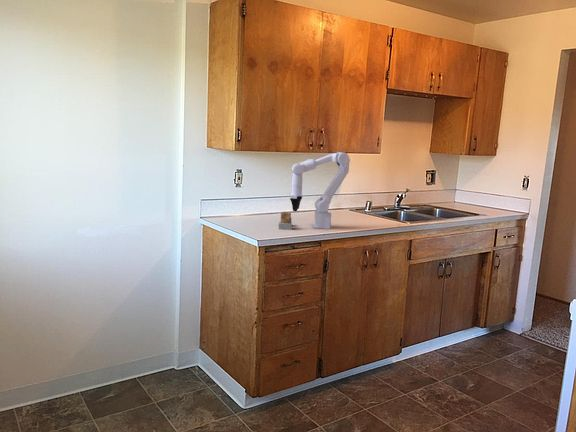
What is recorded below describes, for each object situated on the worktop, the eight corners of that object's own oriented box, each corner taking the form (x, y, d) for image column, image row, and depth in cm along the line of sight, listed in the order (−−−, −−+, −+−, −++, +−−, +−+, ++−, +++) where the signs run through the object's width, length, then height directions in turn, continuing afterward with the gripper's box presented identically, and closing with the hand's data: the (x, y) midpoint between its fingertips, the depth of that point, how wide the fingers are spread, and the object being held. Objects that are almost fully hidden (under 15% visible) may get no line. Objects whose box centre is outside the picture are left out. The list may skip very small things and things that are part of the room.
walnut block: (290, 222, 270) (290, 212, 269) (288, 223, 265) (289, 213, 264) (282, 221, 271) (282, 211, 270) (280, 222, 266) (281, 212, 265)
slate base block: (291, 227, 272) (291, 221, 271) (291, 230, 265) (291, 223, 264) (278, 227, 272) (279, 221, 271) (278, 229, 265) (278, 223, 265)
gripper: (291, 184, 278) (290, 207, 280) (288, 186, 264) (286, 211, 266) (303, 184, 277) (302, 208, 279) (301, 187, 263) (299, 212, 265)
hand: (295, 210), depth 273 cm, fingers open, 7 cm apart
